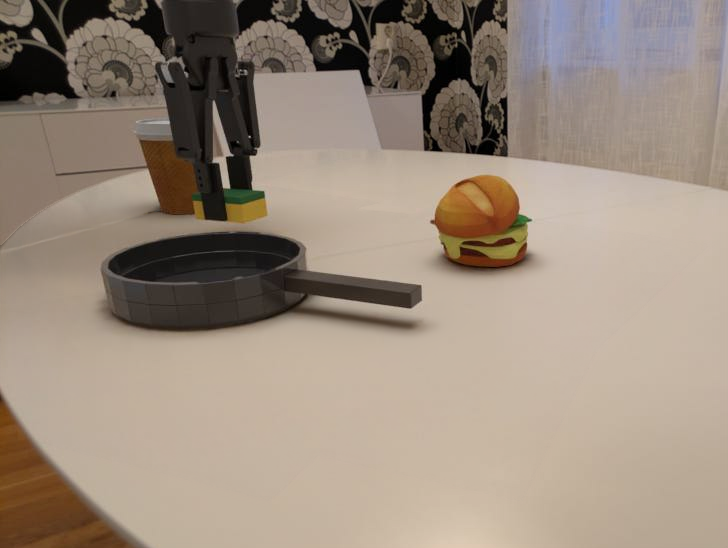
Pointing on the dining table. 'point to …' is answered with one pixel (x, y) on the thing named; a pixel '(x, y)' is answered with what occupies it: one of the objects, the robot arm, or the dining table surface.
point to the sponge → (237, 205)
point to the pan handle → (353, 288)
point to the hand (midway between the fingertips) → (230, 214)
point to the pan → (203, 279)
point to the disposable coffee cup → (166, 167)
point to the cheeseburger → (482, 223)
